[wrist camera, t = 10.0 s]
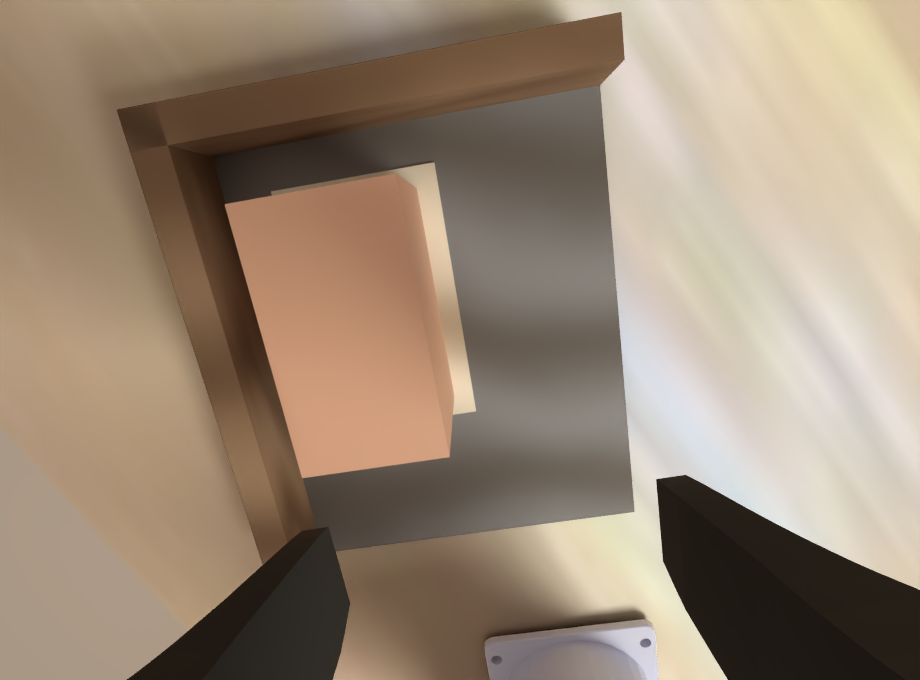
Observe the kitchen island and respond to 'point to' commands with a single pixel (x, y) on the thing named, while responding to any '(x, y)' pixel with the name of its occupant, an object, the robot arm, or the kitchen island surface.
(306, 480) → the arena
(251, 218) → the block
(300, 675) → the robot arm
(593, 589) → the kitchen island surface
